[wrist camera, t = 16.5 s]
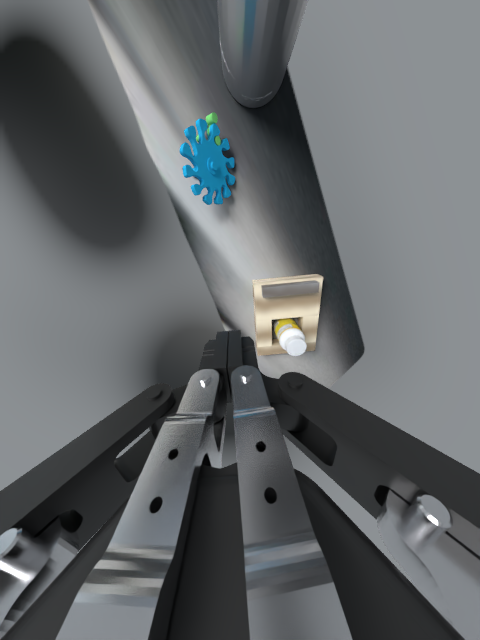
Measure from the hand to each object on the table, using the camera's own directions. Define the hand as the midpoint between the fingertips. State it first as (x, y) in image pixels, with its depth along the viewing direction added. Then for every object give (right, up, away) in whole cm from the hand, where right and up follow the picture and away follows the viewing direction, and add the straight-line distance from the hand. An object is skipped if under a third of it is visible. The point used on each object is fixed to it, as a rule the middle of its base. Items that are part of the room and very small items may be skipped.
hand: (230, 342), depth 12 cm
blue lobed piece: (-4, +27, +19) cm, 34 cm away
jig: (+11, +3, +31) cm, 33 cm away
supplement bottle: (+11, 0, +33) cm, 35 cm away
